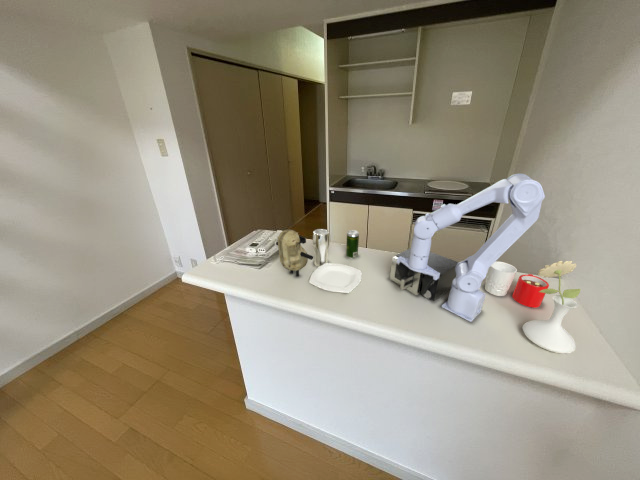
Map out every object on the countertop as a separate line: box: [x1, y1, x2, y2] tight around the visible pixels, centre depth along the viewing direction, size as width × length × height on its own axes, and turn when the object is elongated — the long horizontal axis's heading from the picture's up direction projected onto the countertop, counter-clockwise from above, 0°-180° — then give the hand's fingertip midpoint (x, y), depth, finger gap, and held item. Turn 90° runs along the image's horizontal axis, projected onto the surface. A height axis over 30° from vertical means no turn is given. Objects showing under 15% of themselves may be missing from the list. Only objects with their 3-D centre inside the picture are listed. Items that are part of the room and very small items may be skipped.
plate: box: [308, 262, 363, 294], centre depth 99 cm, size 19×19×2 cm
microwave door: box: [389, 255, 423, 296], centre depth 92 cm, size 7×13×10 cm, turn 33°
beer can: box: [345, 229, 360, 260], centre depth 115 cm, size 5×5×12 cm
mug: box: [511, 273, 550, 308], centre depth 88 cm, size 8×12×8 cm, turn 152°
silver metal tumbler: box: [312, 228, 330, 268], centre depth 109 cm, size 7×7×15 cm
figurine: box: [275, 229, 314, 278], centre depth 100 cm, size 19×12×20 cm, turn 49°
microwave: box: [395, 247, 460, 302], centre depth 96 cm, size 15×18×10 cm
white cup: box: [484, 260, 518, 297], centre depth 91 cm, size 8×8×10 cm
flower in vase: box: [522, 260, 581, 354], centre depth 67 cm, size 13×11×25 cm
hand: (413, 288), depth 88 cm, fingers open, 7 cm apart
